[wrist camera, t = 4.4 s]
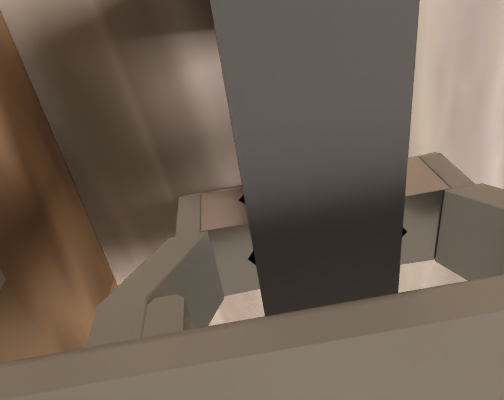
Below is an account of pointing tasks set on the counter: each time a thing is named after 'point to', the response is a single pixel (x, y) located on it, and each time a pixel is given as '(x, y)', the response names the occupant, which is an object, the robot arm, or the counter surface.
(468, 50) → the counter surface
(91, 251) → the shelf
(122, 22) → the counter surface
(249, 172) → the gray block
